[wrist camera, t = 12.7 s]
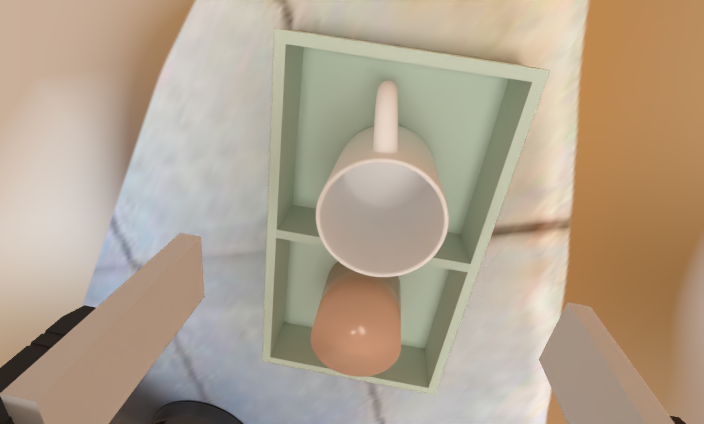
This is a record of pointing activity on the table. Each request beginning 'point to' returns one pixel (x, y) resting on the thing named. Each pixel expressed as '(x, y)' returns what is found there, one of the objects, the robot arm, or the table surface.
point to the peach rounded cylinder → (358, 323)
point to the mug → (383, 198)
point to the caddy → (452, 166)
